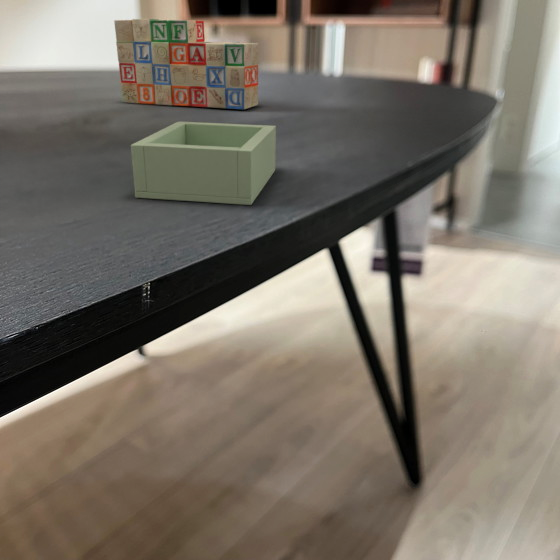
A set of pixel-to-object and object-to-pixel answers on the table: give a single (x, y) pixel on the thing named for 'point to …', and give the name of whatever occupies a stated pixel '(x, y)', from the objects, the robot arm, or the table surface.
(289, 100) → the table surface
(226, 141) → the open green box
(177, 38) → the stack of blocks
